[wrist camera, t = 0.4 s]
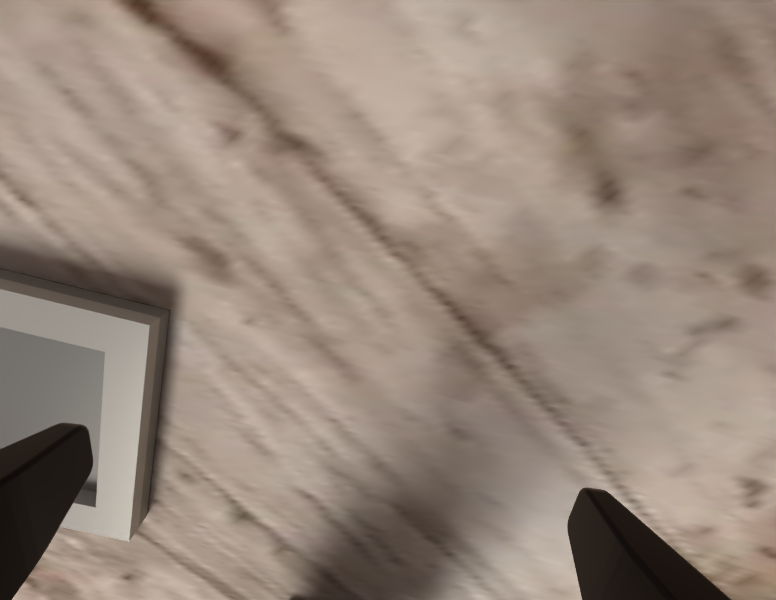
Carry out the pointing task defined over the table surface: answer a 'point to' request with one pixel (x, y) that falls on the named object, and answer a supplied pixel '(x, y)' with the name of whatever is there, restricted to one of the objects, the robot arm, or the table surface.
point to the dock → (85, 388)
